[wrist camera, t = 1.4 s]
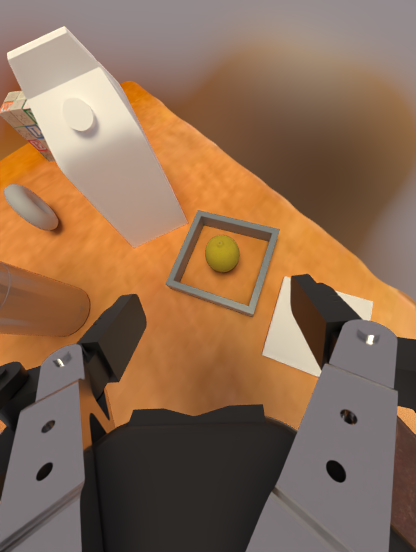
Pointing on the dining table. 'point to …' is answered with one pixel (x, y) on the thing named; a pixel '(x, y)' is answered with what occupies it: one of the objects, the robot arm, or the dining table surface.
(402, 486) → the notebook
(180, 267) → the grey square frame
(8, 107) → the stack of blocks
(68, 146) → the milk
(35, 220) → the donut
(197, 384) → the dining table surface
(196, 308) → the dining table surface
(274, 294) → the dining table surface
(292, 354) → the board
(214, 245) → the lemon
